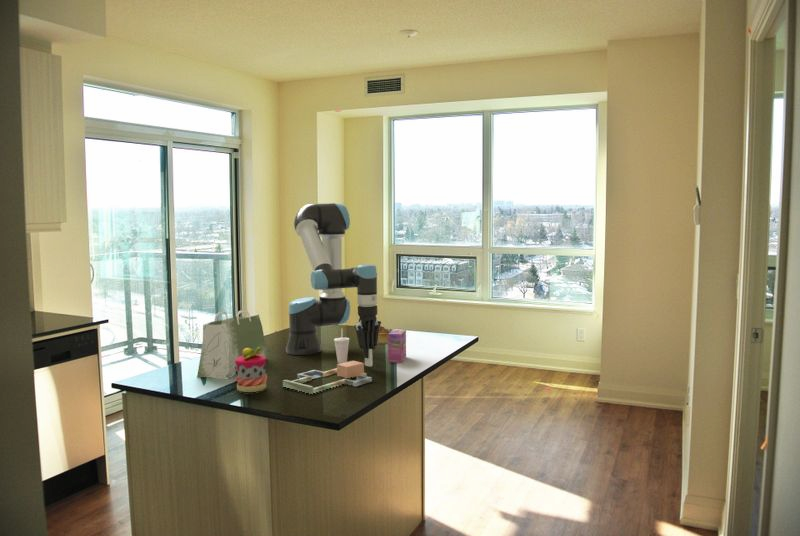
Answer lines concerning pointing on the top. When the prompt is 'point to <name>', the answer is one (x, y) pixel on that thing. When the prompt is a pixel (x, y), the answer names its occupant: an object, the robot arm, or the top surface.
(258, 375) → the cake
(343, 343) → the smoothie
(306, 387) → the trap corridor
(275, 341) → the top surface
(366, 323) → the robot arm
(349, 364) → the block
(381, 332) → the pastry
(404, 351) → the box
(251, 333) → the grocery bag
